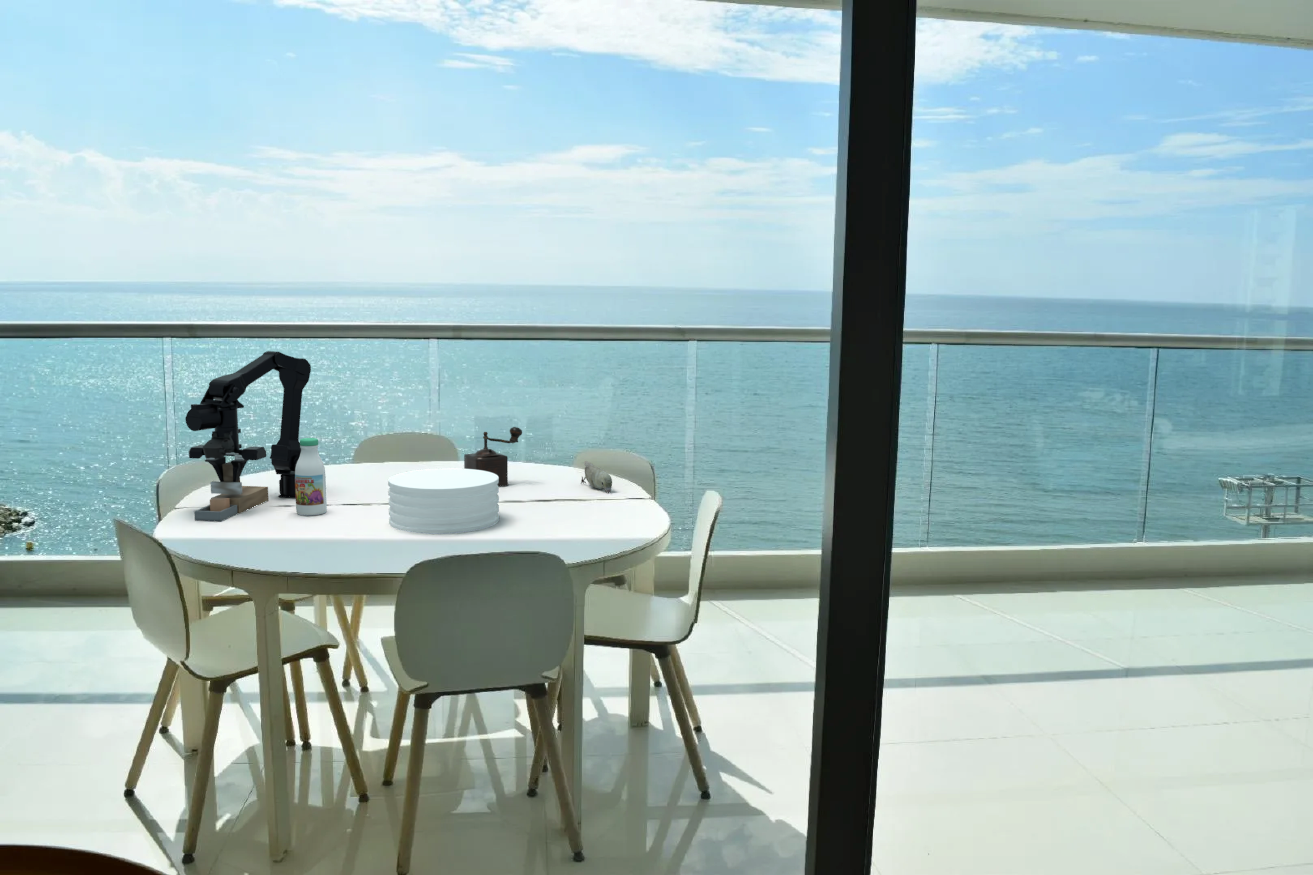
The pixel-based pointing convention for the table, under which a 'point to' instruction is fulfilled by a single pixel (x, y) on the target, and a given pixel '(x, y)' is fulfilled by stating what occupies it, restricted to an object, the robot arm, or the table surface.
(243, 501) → the walnut board
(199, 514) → the box
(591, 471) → the decorative bird
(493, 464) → the manual coffee grinder
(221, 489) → the grey block with post
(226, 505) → the terracotta tile
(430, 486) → the plate stack
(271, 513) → the table surface
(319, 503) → the milk bottle
